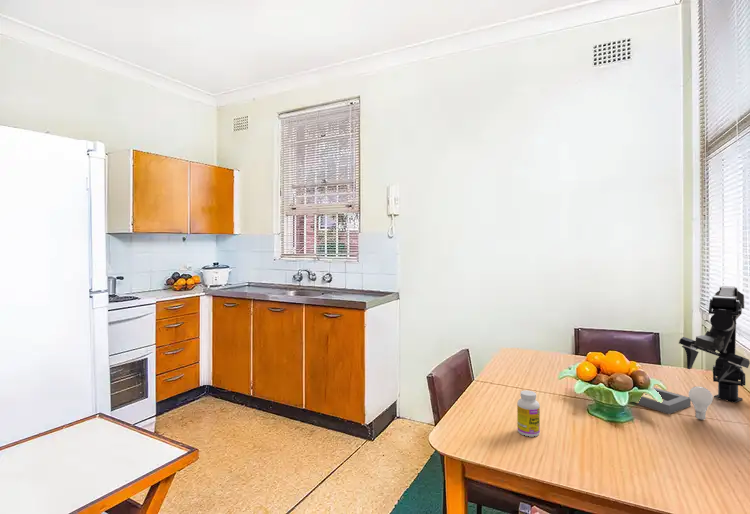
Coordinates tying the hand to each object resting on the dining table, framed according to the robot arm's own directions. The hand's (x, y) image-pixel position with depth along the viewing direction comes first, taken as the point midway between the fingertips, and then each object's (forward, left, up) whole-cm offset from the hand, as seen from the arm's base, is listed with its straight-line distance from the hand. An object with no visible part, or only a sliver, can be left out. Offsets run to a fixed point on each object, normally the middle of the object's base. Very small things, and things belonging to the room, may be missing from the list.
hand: (703, 375), depth 140 cm
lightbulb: (+5, +1, -14) cm, 15 cm away
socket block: (+1, -13, -14) cm, 19 cm away
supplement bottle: (+61, -21, -14) cm, 66 cm away
